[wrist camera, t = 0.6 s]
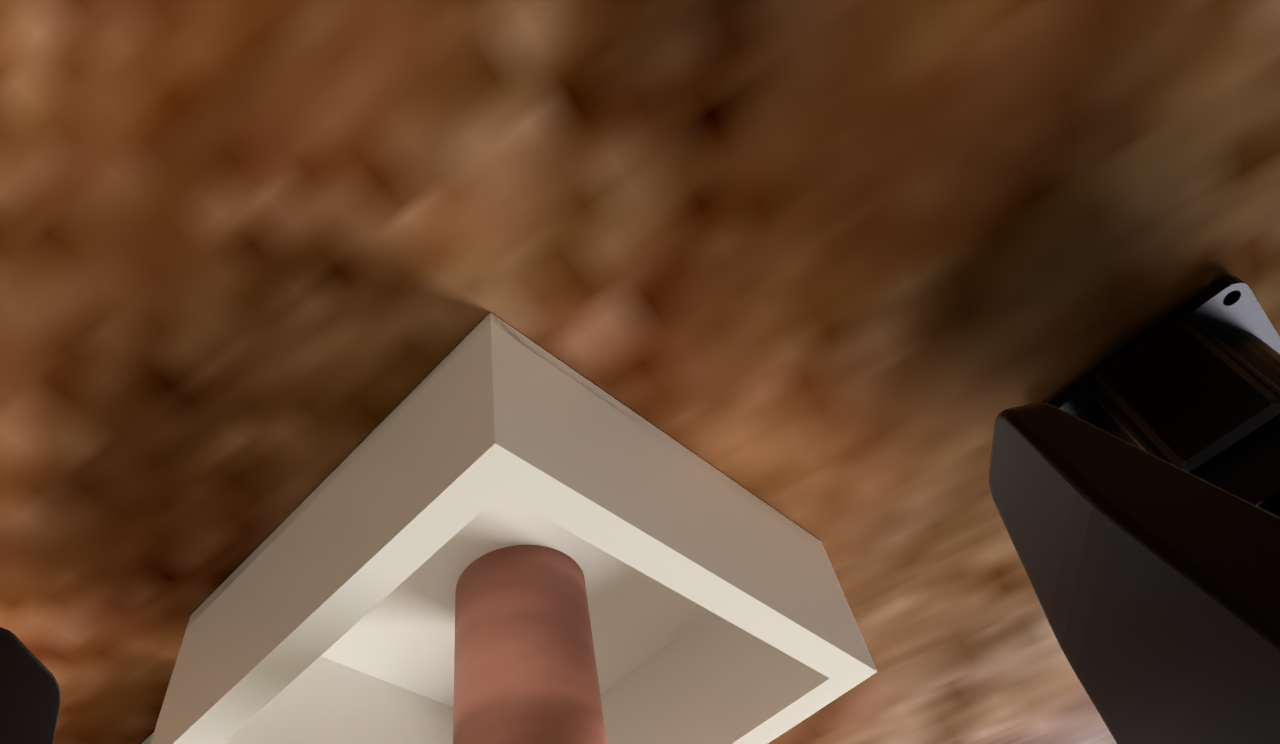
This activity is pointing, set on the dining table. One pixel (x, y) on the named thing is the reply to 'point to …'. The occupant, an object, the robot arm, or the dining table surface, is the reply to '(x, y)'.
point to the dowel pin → (525, 651)
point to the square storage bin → (507, 516)
